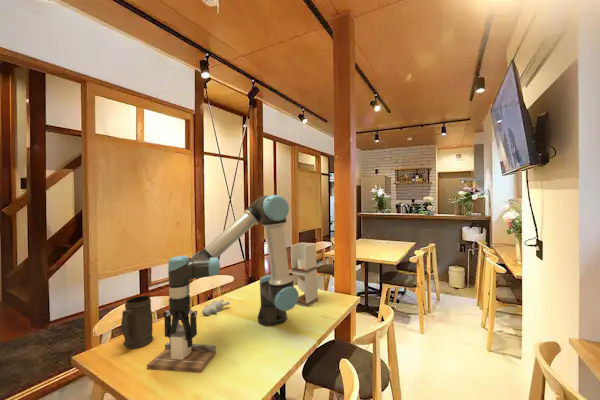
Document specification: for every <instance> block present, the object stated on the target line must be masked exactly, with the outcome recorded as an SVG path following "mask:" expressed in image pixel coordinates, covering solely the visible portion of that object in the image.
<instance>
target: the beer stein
mask: <svg viewBox="0 0 600 400" xmlns="http://www.w3.org/2000/svg"><path fill="white" fill-rule="evenodd" d="M151 303H152V300H151V297H150V295H149V296H148V295H139V296H134V297H132V298H128V299H127V300H126V301H125V303H124V304H125V305H124V308H125V309H124V310H122V318H121V323H120V329H121V333H122V335H123V338H124V341H123V346H124V347H125V348H127V349H130V350H133V349H134V350H135V349H139V348H143V347H145V346H147V345H149V344H151V342H152V341H154V337H153V328H154V327H153V314H152V313H153V311H152V305H151Z"/></svg>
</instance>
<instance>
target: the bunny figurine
mask: <svg viewBox="0 0 600 400" xmlns="http://www.w3.org/2000/svg"><path fill="white" fill-rule="evenodd" d="M228 305H230V301H225V302H224V299H220V300H214V301H212V302H210V304H207V305H205V306H204V308H203V309H202V311H201V313H202V314H203V315H204V316H211V315H213V314H217V313H219V312H220V311H222V309H223V308H224V306H228Z"/></svg>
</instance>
